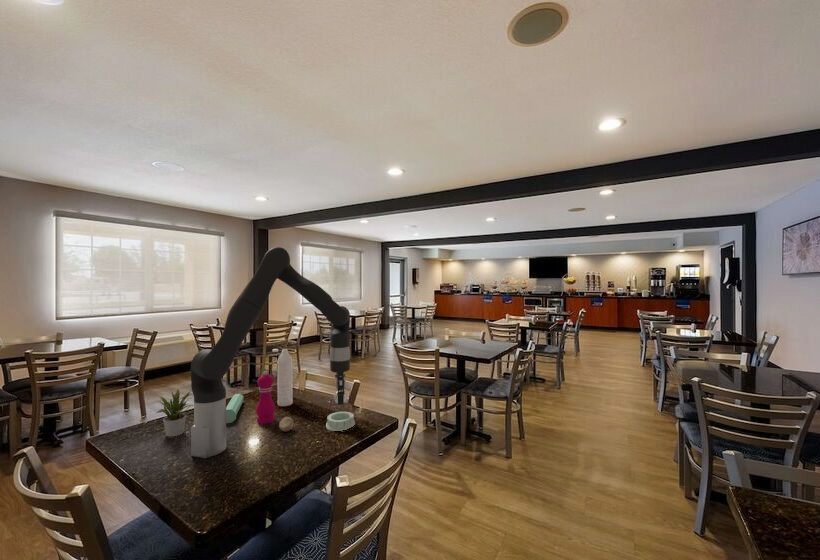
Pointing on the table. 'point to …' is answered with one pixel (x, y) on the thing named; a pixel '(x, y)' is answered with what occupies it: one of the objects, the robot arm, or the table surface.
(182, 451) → the table surface
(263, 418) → the pepper mill
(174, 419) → the house plant
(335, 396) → the steel ball
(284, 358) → the water bottle
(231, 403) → the mint green faceted rod
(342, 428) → the ring cup
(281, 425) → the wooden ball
